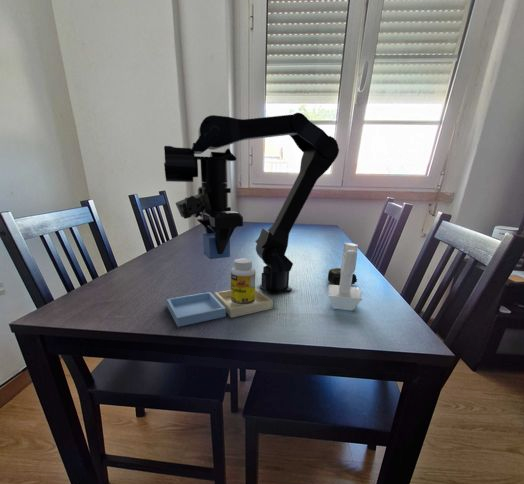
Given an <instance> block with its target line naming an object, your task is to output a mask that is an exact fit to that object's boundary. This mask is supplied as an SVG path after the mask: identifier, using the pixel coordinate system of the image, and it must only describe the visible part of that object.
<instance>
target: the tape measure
mask: <svg viewBox="0 0 524 484" xmlns="http://www.w3.org/2000/svg"><path fill="white" fill-rule="evenodd" d="M340 278H341V267H336V268H331V269H329V270H328V274H327V281H328V282H329V283H331V284H332V285H338V286H340ZM357 282H358V279H357V274H355V273H353V277H352V283H351V285H355V284H356V283H357Z"/></svg>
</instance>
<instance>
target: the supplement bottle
mask: <svg viewBox="0 0 524 484" xmlns="http://www.w3.org/2000/svg"><path fill="white" fill-rule="evenodd" d="M255 288H256V269H255V268H254V267H253V260H252V259H250V258H246V257H239V258H236V259H234V261H233V267H232V268H231V270H230V290H231V301H232V303H233V304H235V305H238V306H244V305H249V304H253V303H254V301H255Z"/></svg>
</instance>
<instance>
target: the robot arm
mask: <svg viewBox="0 0 524 484" xmlns="http://www.w3.org/2000/svg"><path fill="white" fill-rule="evenodd" d="M284 136H289V137H290V138H291V139H292V140H293V142H294V143H295V145H296V146H297V148H298V149H299V150H300V151H301V152H302V156H301V160H300V166H299V167H300V168H299V173H298V175H297V177H296V179H295V181H294V182H293V185H292V187H291V189H290V191H289V193H288V195H287V197H286V198H285V200H284V202H283V205H282V207H280V210H279V212H278V215H277V216H276V218H275V220H274V223H273V224H272V225H271V227H269V228H268V229H266V228H261V231H260V233H259V237H258V238H257V239H256V240H255V243H256V245H255V252H256V254H257V256H258V257H259V258H260V259H261V260H262V261H263V264H265V266H263V268H262V272H261V282H260V284H259V287H260V288H261V289H262V290H264V291H265V292H267V293H268V294H270V295H277V294H283V293H287V292H292V290H293V289H292V288H291V287H290V286H289V285H290V283H289V282H290V272H291V270H292V268H293V265H294V263H293V262H292V261H291V260H290V259H289V257H287V255H286V253H287V250H288V246H289V237H290V233H291V231H292V229H293V227H294V226H295V223H296V221H297V219H298V218H299V216H300V213H301V212H302V210H303V208H304V206H305V204H306V203H307V200H308V198H309V196H310V194H312V193H311V192H312V191H313V188H314V187H315V185H316V183H317V182H318V180H319V179H320V178H321V177H322V176H323V175H324V174H325V173H326V172H327V171H328V170H329V169H330V167H331V166H332V165H333V163H334V162H335V161H336V159H337V158H338V156H339V153H340V148H339V143H338V141H337V139H335V138H334V137H333V136H331V135H328V134H327V133H326V132H325V131H324V130H323V129H322V128H321V127H319V126H318V125H316V124H315V123H313V122H312V121H311V120H309V119H308V118H307V116H306V115H304V114H303V113H301V112H295V113H293V114H285V115H283V114H282V115H275V116H265V117H264V116H263V117H254V118H245V119H244V118H243V119H242V118H235V117H232V116H226V115H225V116H223V115H216V114H215V115H214V114H211V115H207V116H206V117H204V119H202V122H201V123H200V125H199V128H198V138H197V139H196V141H195V142H193V143H192V145H191V146H192V147H175V146H172V145H164V146H163V150H164V151H163V152H164V162H163V166H164V176H165V182H176V183H180V182H182V183H194V178H199V163H198V161H199V162H200V181H201V183H200V184H201V186H199V188H197V194H195V195H192V194H191V195H190V196H188V197H184V199H182V200H181V199H180V200H179V201H176V202H175V205H176V208H177V210H178V213H179V215H180V217H181V218H183V219H189V218H192V217H194V218H196V222H198V223H200V225H202V226H203V228H204V231H205V234H209V233H214V236H215V241H216V247H217V252H218V254H223V252H224V250H225V248H226V246H227V243H228V241H229V239H230V240H231V237H232V236H233V233H234V231H235V229H237V228H238V227H243V226H244V216H243V215H242V214H241V213H240V212H238V211H235V210H232V208H231V206H229V198H228V197H229V196H228V194H231V192H232V191H231V190H232V189H231V187H228V162H235V161H237V157H236V156H235V155H234V154H233V152H232V151H231V149H230V148H226V149H225V150H224V151H223V152H222V151H214V150H218V149H221V148H225V147H227V146H230V145H233V144H236V143H239V142H242V141H248V140H255V139H256V140H257V139H266V138H274V137H284ZM207 150H212V151H210V155H209V156H200V155H201V154H203V153H204V152H206V151H207ZM198 155H199V156H198ZM197 218H198V219H197Z"/></svg>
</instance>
